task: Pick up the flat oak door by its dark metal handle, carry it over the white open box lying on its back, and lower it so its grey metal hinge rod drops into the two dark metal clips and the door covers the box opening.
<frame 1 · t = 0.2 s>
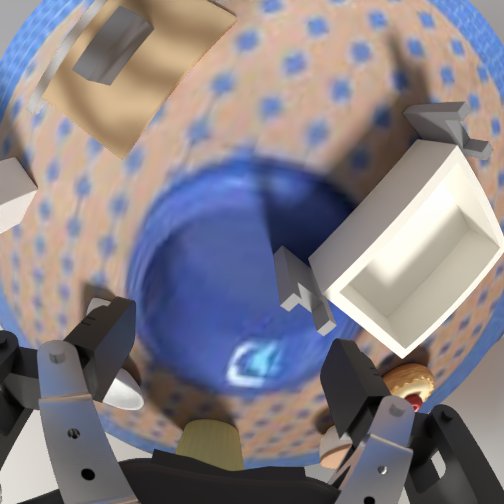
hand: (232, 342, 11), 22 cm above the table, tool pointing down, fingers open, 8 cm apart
door: (128, 54, 24), on the table
potted cactus: (211, 431, 49), on the table
milk carton: (18, 189, 30), on the table
pastry: (399, 379, 44), on the table
lidded jar: (340, 428, 49), on the table
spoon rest: (114, 354, 41), on the table
white open box: (403, 240, 32), on the table
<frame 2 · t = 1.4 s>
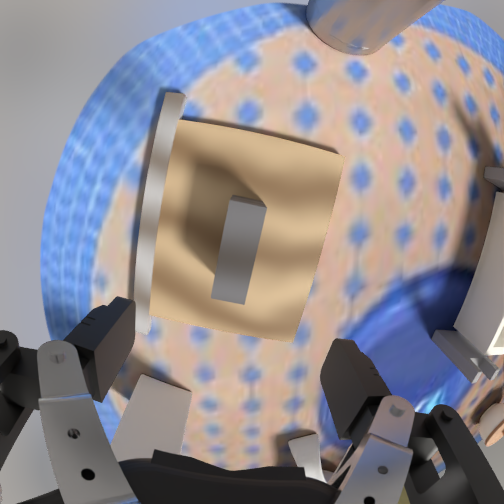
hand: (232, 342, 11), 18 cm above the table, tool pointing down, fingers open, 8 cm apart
door: (239, 236, 28), on the table
milk carton: (162, 397, 34), on the table
lidded jar: (488, 411, 41), on the table
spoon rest: (311, 465, 40), on the table
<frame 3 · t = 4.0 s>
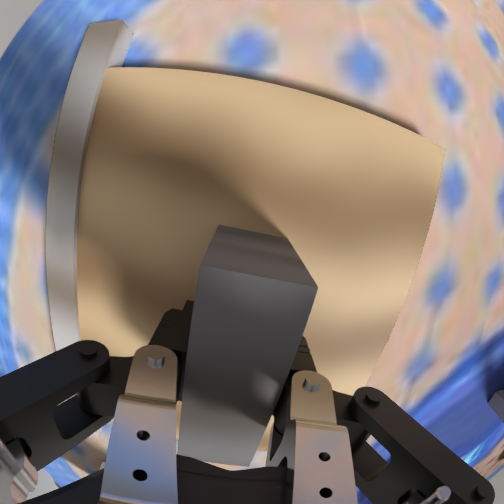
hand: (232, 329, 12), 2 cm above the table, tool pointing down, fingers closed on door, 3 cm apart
door: (235, 304, 14), on the table, touching gripper
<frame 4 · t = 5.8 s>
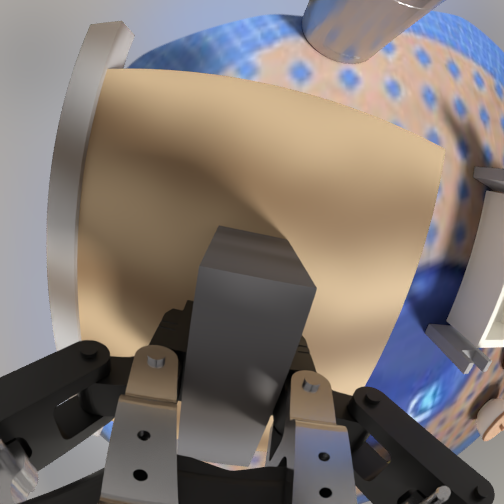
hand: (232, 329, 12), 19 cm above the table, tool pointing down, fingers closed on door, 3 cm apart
door: (235, 304, 14), point 17 cm above the table, touching gripper
lidded jar: (485, 407, 43), on the table
white open box: (496, 266, 32), on the table
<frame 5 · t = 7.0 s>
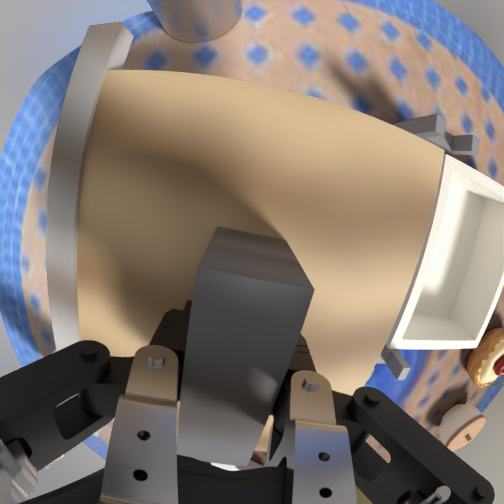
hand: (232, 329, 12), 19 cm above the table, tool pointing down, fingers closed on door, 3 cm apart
door: (234, 305, 14), point 17 cm above the table, touching gripper
pastry: (483, 349, 37), on the table
lidded jar: (451, 413, 42), on the table
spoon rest: (233, 451, 41), on the table
white open box: (434, 249, 31), on the table
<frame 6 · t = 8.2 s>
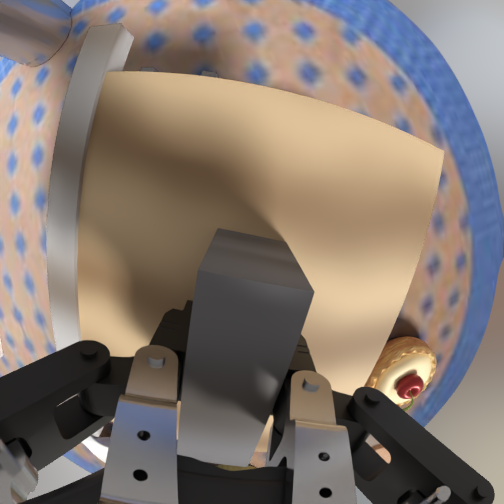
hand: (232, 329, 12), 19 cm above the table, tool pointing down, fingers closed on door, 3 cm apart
door: (234, 306, 14), point 17 cm above the table, touching gripper
pastry: (390, 362, 37), on the table
lidded jar: (362, 432, 42), on the table
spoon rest: (109, 427, 40), on the table
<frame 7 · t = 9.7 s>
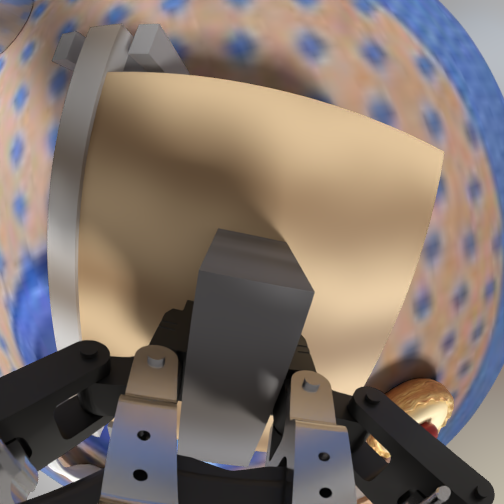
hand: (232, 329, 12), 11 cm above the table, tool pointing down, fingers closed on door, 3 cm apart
door: (234, 306, 14), point 9 cm above the table, touching gripper
pastry: (401, 404, 29), on the table
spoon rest: (85, 455, 32), on the table
white open box: (239, 254, 22), on the table
when the fingers open (11 cm above the table, at t = 10.4 s): door stays where it is, resting on white open box.
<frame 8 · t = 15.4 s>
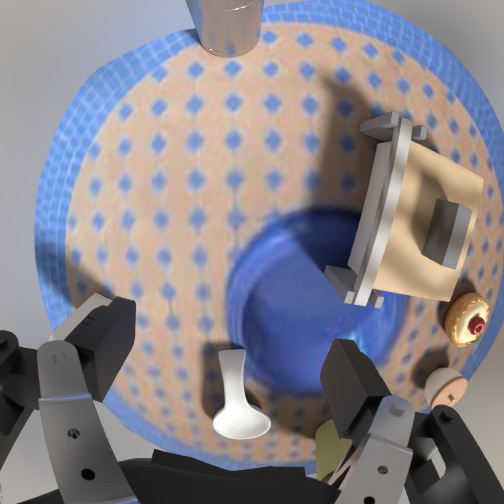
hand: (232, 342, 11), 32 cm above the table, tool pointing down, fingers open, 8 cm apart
door: (430, 226, 34), point 8 cm above the table, touching white open box
potted cactus: (337, 429, 56), on the table
milk carton: (109, 315, 46), on the table
pastry: (459, 313, 48), on the table
lidded jar: (435, 377, 53), on the table
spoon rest: (238, 393, 51), on the table
white open box: (404, 216, 42), on the table
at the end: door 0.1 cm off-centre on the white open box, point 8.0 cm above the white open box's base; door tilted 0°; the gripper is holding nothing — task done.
